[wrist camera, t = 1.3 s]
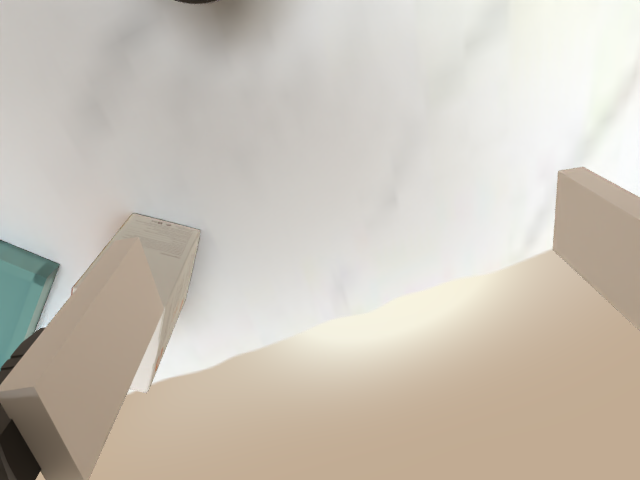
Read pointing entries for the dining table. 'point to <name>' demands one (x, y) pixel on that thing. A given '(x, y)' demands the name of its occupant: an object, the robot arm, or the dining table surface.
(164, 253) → the small box
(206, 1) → the drinking cup
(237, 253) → the dining table surface
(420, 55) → the dining table surface
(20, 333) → the tray
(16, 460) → the robot arm
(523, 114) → the dining table surface
